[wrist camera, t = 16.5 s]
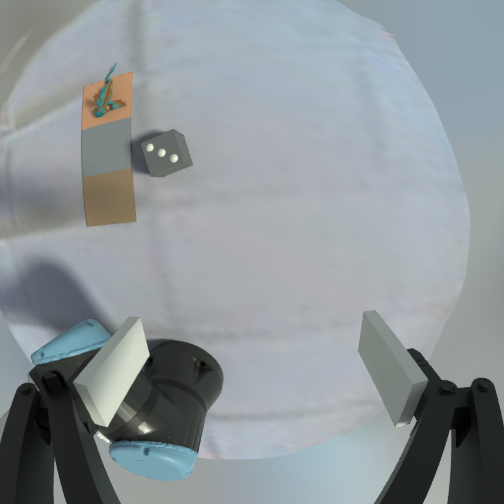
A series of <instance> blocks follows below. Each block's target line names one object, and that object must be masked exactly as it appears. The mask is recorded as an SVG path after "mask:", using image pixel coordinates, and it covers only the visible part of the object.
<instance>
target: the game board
mask: <svg viewBox="0 0 504 504" xmlns="http://www.w3.org/2000/svg"><path fill="white" fill-rule="evenodd" d="M132 76H133V72H128V73H125V74H121V75H118V76H115V77H112V78H109V79H112V81H113V84H112V97H111V99H110V101H109V102H111V101H115V100H121V99H122V100H121V101H122V102H125V103H126V104H127V105H126V106H123V107H120V108H117V109H113V108H112V105H111V104H107V105H106V109H107V110H111V111H110V112H107V113H106V114H105V115H103V116H102V117H96V116H95V113H94V111H95V108H94V107H96V108H97V107H98V106H97V103H96V101H95V99H94V97H93V96H94V94H96V93H97V94H98V95H99V96H100V94H101V89H102V86H103V87H104V88H105V87H106V86H107V84H108V82H107V83H105V80H103V81H100V82H97V83H94V84H91V85H89V86H86V87H84V97H83V112H82V175H83V191H84V203H85V213H86V221H87V226H97V225H106V224H116V223H127V222H136V214H135V203H134V191H133V176H132V155H131V96H132ZM107 80H108V79H107ZM107 80H106V81H107Z"/></svg>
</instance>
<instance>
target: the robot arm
mask: <svg viewBox="0 0 504 504" xmlns="http://www.w3.org/2000/svg"><path fill="white" fill-rule="evenodd" d="M358 352H359V354H360V355H361V357H362V359H363V361H364V363H365V365H366V367H367V369H368V371H369V373H370V375H371V377H372V379H373V381H374V383H375V386H376V388H377V390H378V392H379V394H380V396H381V398H382V400H383V402H384V404H385V406H386V408H387V411H388V413H389V415H390V417H391V419H392V421H393V423H394V426H395V428H396V427H400V426H403V425H407V424H410V422H411V420H412V418H413V416H415V418H416V420H417V422H416V424H415V426H414V428H413V430H412V432H411V434H410V438H409V440H408V442H407V444H406V446H405V449H404V451H403V453H402V455H401V457H400V459H399V461H398V463H397V465H396V467H395V469H394V471H393V472H392V474H391V476H390V478H389V480H388V481H387V483H386V485H385V487H384V488H383V490H382V492H381V493H380V495H379V497H378V498H377V500H376V501H375V503H374V504H423V502H424V500H425V498H426V495H427V493H428V491H429V489H430V486H431V484H432V481H433V479H434V476H435V474H436V471H437V468H438V466H439V463H440V460H441V457H442V454H443V451H444V448H445V444H446V441H447V438H448V434H449V431H450V430H451V436H452V437H451V441H452V442H451V444H452V445H451V448H452V450H451V473H450V485H449V495H448V503H447V504H504V425H503V420H502V415H501V410H500V406H499V402H498V398H497V394H496V390H495V387H494V384H493V383H492V382H491V381H490V380H488V379H486V378H477V379H475V380H474V381H473V382H472V384H471V386H470V387H465V388H457V386H456V385H455V384H454V383H452V382H451V381H448V380H441V379H440V377H439V376H438V375H437V373H436V372H435V371H434V370H433V368H432V367H431V366H430V365H429V363H428V362H427V361H426V360H425V358H424V357H423V356H422V354H421V353H420V352H418V351H417V350H415V349H413V348H411V349H405V347H404V346H403V345H402V343H401V342H400V341H399V339H398V338H397V337H396V336H395V334H394V333H393V332H392V330H391V329H390V328H389V327H388V325H387V324H386V323H385V322H384V320H383V319H382V318H381V317H380V315H379V314H378V313H377V312H376V310H373V311H364V312H363V320H362V327H361V334H360V341H359V347H358ZM31 359H32V363H33V364H34V365H36V366H35V367H34V368H33V369H32V370H31V371H30V372H29V373H28V383H24V384H22V385H21V386H19V387H18V389H17V391H16V393H15V396H14V399H13V402H12V405H11V407H10V409H9V410H8V411H7V412H6V413H5V414H4V415H3V416H2V418H0V504H54V498H53V497H54V496H53V484H54V479H53V478H54V460H55V461H56V466H57V470H58V474H59V478H60V482H61V486H62V490H63V493H64V497H65V500H66V503H67V504H121V503H120V501H119V499H118V497H117V495H116V493H115V491H114V489H113V486H112V484H111V482H110V480H109V477H108V475H107V472H106V470H105V468H104V465H103V462H102V460H101V457H100V455H99V452H98V449H97V446H96V443H95V440H94V437H93V436H94V434H96V432H98V431H99V432H100V433H101V434H102V435H104V436H105V437H106V438H107V439H108V440H109V441H111V442H112V444H110V446H109V449H110V450H109V454H110V456H111V457H112V459H113V460H114V461H115V462H116V463H117V464H119V465H120V466H121V467H123V468H124V469H126V470H128V471H130V472H132V473H135V474H137V475H140V476H143V477H146V478H150V479H155V480H162V481H175V480H181V479H184V478H186V477H187V476H189V475H190V474H191V472H192V470H193V467H194V464H195V461H196V459H197V458H198V451H199V446H200V441H201V436H202V431H203V427H204V422H205V417H206V412H207V411H208V410H209V408H210V407H211V406H212V405H213V403H214V402H215V401H216V399H217V398H218V397H219V395H220V393H221V390H222V385H223V373H222V370H221V368H220V366H219V364H218V363H217V361H216V360H215V359H214V358H213V357H212V356H211V355H210V354H208V353H207V352H206V351H204V350H203V349H201V348H199V347H197V346H194V345H191V344H188V343H184V342H167V343H163V344H160V345H158V346H157V347H155V348H154V349H153V350H152V351H151V353H150V354H149V350H148V347H147V343H146V339H145V335H144V331H143V327H142V323H141V318H140V317H129V318H128V319H127V320H126V321H125V322H124V324H123V325H122V326H121V327H120V328H119V329H118V330H117V331H116V332H115V334H114V335H113V336H111V335H110V334H109V333H108V332H107V331H106V330H105V329H104V327H103V326H102V325H101V324H100V323H99V322H98V321H96V320H94V319H85V320H83V321H81V322H80V323H78V324H76V325H75V326H73V327H71V328H70V329H68V330H67V331H65V332H64V333H62V334H60V335H59V336H57V337H56V338H54V339H53V340H51V341H50V342H48V343H47V344H46V345H44V346H43V347H41V348H40V349H39V350H37V351H35V352H34V353H33V354H32V355H31ZM144 363H145V364H144ZM143 365H144V372H143V371H142V370H141V368H142V367H143Z"/></svg>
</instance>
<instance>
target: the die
mask: <svg viewBox="0 0 504 504" xmlns="http://www.w3.org/2000/svg"><path fill="white" fill-rule="evenodd" d="M141 146H142V150H143V153H144V157H145V160H146V163H147V166H148V170H149V173H150V176H151V177H164V176H167V175H169V174H172V173H174V172H177V171H179V170H182V169H184V168H187V167H189V166H192V165H193V163H192V160H191V157H190V154H189V151H188V148H187V145H186V142H185V138H184V135H183V134H181V133H179V132H178V131H176V130H174V129H172V130H170V131H167V132H165V133H163V134H161V135H158V136H156V137H154V138H152V139H150V140H148V141H145V142H143V143H141Z"/></svg>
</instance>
